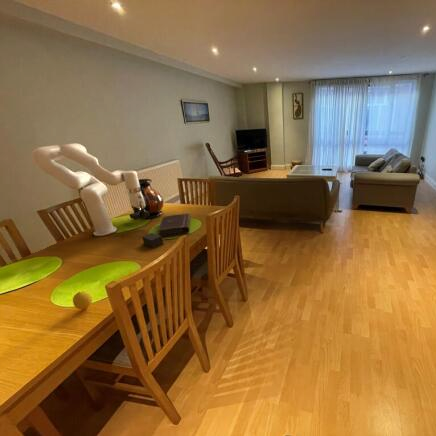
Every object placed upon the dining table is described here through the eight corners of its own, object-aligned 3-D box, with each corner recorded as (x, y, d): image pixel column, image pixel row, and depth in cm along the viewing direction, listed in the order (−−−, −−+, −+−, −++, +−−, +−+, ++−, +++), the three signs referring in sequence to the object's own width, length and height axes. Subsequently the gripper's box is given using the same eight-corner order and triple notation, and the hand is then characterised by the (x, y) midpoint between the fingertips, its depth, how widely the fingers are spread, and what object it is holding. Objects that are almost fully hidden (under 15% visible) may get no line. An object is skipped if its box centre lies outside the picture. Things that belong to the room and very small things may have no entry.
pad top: (135, 220, 156) (134, 216, 155) (130, 218, 159) (129, 214, 158) (150, 215, 164) (149, 211, 163) (145, 213, 167) (144, 210, 166)
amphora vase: (142, 211, 195) (133, 177, 184) (170, 210, 197) (162, 176, 186) (129, 222, 175) (117, 185, 164) (160, 220, 177) (150, 183, 166)
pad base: (144, 244, 144) (142, 240, 143) (153, 240, 148) (152, 236, 147) (153, 248, 139) (152, 244, 138) (163, 243, 143) (162, 240, 142)
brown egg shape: (83, 303, 97) (76, 288, 94) (98, 302, 98) (91, 287, 95) (73, 314, 92) (65, 297, 89) (88, 313, 93) (81, 296, 89)
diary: (190, 219, 178) (189, 212, 176) (189, 232, 157) (188, 226, 155) (163, 222, 173) (161, 216, 171) (158, 237, 151) (156, 230, 149)
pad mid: (143, 240, 143) (141, 236, 142) (152, 236, 147) (151, 232, 146) (152, 244, 138) (151, 240, 137) (162, 240, 142) (161, 236, 141)
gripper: (147, 191, 153) (153, 217, 160) (133, 187, 162) (139, 211, 168) (135, 193, 147) (141, 220, 154) (120, 189, 156) (127, 215, 163)
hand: (140, 215), depth 161 cm, fingers closed on pad top, 6 cm apart
